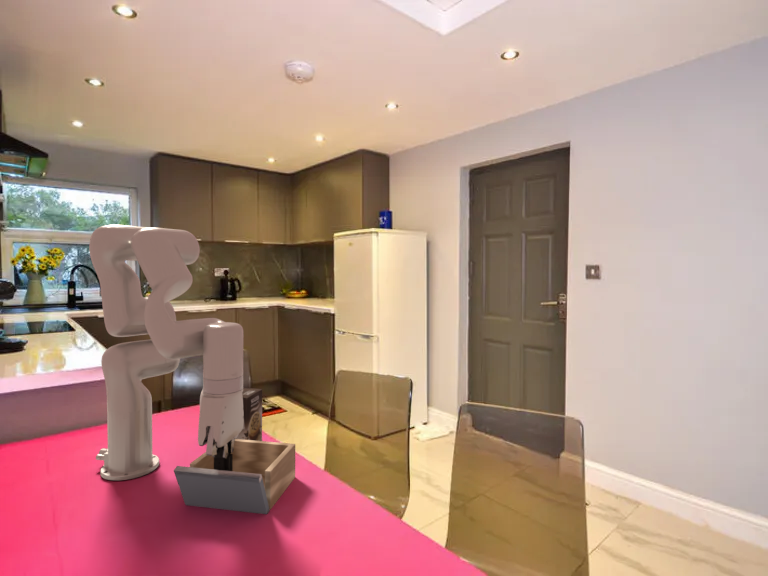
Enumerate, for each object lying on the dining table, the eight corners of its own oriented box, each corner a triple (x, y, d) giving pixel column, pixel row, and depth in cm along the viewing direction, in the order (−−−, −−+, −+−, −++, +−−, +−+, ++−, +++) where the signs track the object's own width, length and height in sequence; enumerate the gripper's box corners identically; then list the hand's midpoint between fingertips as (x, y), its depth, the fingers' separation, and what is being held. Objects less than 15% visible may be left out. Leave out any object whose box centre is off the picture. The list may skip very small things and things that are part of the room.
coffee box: (246, 458, 114) (246, 398, 113) (224, 455, 115) (224, 396, 115) (263, 444, 123) (263, 388, 122) (242, 442, 124) (242, 386, 124)
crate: (190, 505, 91) (189, 463, 91) (224, 474, 105) (224, 437, 105) (270, 514, 88) (270, 471, 88) (295, 481, 102) (295, 443, 102)
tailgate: (186, 507, 90) (173, 470, 86) (189, 502, 91) (177, 465, 87) (267, 517, 87) (258, 479, 83) (269, 511, 88) (261, 474, 84)
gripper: (224, 374, 94) (224, 456, 95) (183, 394, 79) (183, 491, 80) (257, 376, 93) (256, 459, 94) (221, 397, 78) (221, 495, 79)
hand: (223, 473), depth 87 cm, fingers closed
